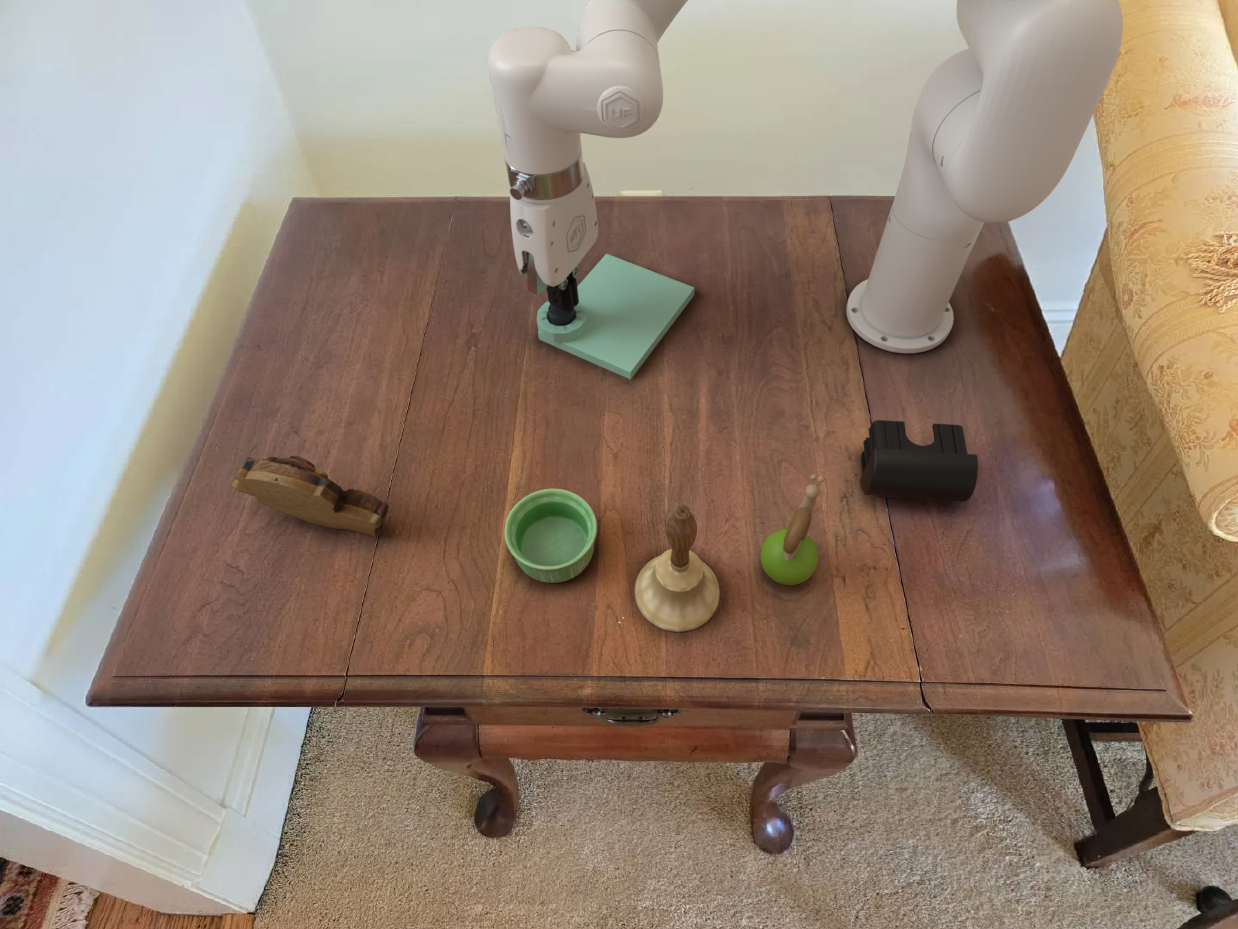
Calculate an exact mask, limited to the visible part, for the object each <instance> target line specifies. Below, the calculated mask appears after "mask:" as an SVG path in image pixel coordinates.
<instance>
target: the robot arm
mask: <svg viewBox="0 0 1238 929" xmlns="http://www.w3.org/2000/svg"><path fill="white" fill-rule="evenodd" d="M688 1H689V0H588V2H587V4H586V5H585V7H584V10H583V11H582V13H581V16H580V19H579V23H578V26H577V30H576V36H575V50H573V49H572V48H571V46H570V44H569V42H568V41H567V40H566V38H565V37H564V36H563V35H562V34H560V33H559V32H557V31H555V30H553V29H550V28H547V27H543V26H525V27H519V28H514V29H512V30H509V31H507V32H504V33H503V34H501V35H499V37H498V38H496V39H495V40H494V41H493V42H492V43H491V45H490V48H489V50H488V53H487V61H486V64H487V72H488V78H489V83H490V88H491V93H492V99H493V104H494V109H495V114H496V120H497V124H498V125H497V126H498V130H499V135H500V141H501V147H502V153H503V157H504V158H503V159H504V162H505V168H506V174H507V179H508V184H509V193H510V195H509V197H510V198H509V204H510V205H509V207H510V226H511V227H510V228H511V237H512V245H513V251H514V257H515V261H516V266H517V270H518V272H519V274H520V275H521V276H522V277H524V276H527V291H528V293H529V292H530V293H532V294H534V295H537V296H539V295H541V294H542V293H543V292H545V291H546V292H547V298H548V300H547V301H549V303H550V304H551V305H553V306H555V307H558V308H561V309H564V310H566V311H569V312H572V311H573V309H574V306H577V304H578V303H579V298H578V289H577V286H578V280H577V278H576V277H577V275H578V273H579V264H580V262H581V261H582V260H583V258H585V256H586V255H587V254H588V252H589V251H590V250H591V248H592V247H593V245H595V243H596V241H597V240H598V236H599V222H598V214H597V207H596V200H595V194H594V189H593V185H592V181H591V178H590V174H589V171H588V168H587V166H586V163H585V162H584V159H583V148H582V137H581V134H584V135H591V136H598V137H604V138H609V139H626V138H628V139H629V138H634V137H637V136H640V135H642V134H643V133H645V132H647V131H648V130H650V129H651V128H652V127H653V126H654V124H656V123H657V121H658V119H659V117H660V115H661V113H662V109H663V105H664V85H663V79H662V72H661V71H662V70H661V63H660V62H661V61H660V56H659V48H658V43H659V41H660V40H661V38H662V37H663V35H664V33H666V31H667V29H668V28H669V27H670V25H671V23H672V22H673V21H674V19H675V18H676V17H677V15H678V14H679V13H680V12H681V11H682V9H683V8H684V6H685V5H686V3H688ZM956 21H957V24H958V28H959V30H960V32H961V35H962V37H963V39H964V41H965V42H966V45H967V47H968V48H965V49H963V50H960V51H957V52H956V53H954V54H952V55H951V56H949V57H948V58H946V59H945V60H943V61H942V62H941V63H940V64H938V66H937V67H936V68H935V69H934V70H933V71H932V72H931V73H930V75H929V76H928V78H927V79H926V81H925V82H924V84H923V86H922V88H921V91H920V92H919V94H918V97H917V100H916V103H915V107H914V109H913V114H912V119H911V125H910V131H909V138H908V144H907V149H906V155H905V159H904V163H903V168H902V171H901V176H900V179H899V183H898V186H897V188H896V192H895V195H894V198H893V201H892V204H891V208H890V210H889V214H888V216H887V220H886V222H885V226H884V229H883V232H882V235H881V239H880V242H879V243H878V244H879V245H878V248H877V251H876V255H875V257H874V260H873V262H872V265H871V266H872V267H871V270H870V273H869V276H868V278H866V279H865V280H863V281H861V282H860V283H859V284H857V285H856V286H855V287H854V288H853V289H852V291H851V292H850V293H849V294H850V295H849V296H848V298H847V303H846V305H845V306H846V308H845V311H846V312H845V314H846V317H847V321H848V323H849V325H850V327H851V328H852V329H853V331H854V332H855V333H856V334H857V335H858V336H859V337H860V338H862V339H863V340H864V341H865V342H867V343H869V344H871V345H872V346H874V347H877V348H879V349H881V350H884V351H888V352H892V353H899V354H918V353H924V352H927V351H930V350H932V349H935V348H936V347H938V346H940V345H941V344H942V343H943V342H944V341H945V340H946V339H947V338H948V336H949V334H950V332H951V330H952V328H953V325H954V319H955V318H954V311H953V308H952V306H951V304H950V299H951V297H952V296H953V293H954V291H955V289H956V286H957V285H958V282H959V280H960V277H961V275H962V273H963V271H964V269H965V267H966V264H967V262H968V260H969V258H970V255H971V253H972V251H973V250H974V249H973V248H974V247H975V244H976V242H977V239H978V237H979V235H980V233H981V230H982V228H984V225H985V224H994V225H995V224H1004V223H1008V222H1011V221H1014V220H1017V219H1019V218H1022V217H1023V216H1025V215H1027V214H1029V213H1030V212H1032V211H1033V210H1034V209H1036V208H1037V207H1039V206H1040V204H1042V203H1043V202H1045V200H1046V199H1047V198H1048V197H1049V196H1050V195H1051V194H1052V192H1053V191H1054V190H1055V189H1056V188H1057V186H1058V184H1060V182H1061V181H1062V179H1063V178H1064V176H1065V174H1066V173H1067V170H1068V168H1069V166H1070V164H1071V163H1072V161H1073V158H1074V156H1075V154H1076V152H1077V150H1078V148H1079V147H1080V145H1081V144H1080V143H1081V141H1082V140H1083V137H1084V135H1085V134H1086V131H1087V128H1088V126H1089V124H1090V122H1091V120H1092V118H1093V116H1094V113H1095V111H1096V109H1097V107H1098V105H1099V102H1100V100H1101V98H1102V96H1103V93H1105V92H1104V91H1105V89H1106V87H1107V86H1108V83H1109V81H1110V79H1111V76H1112V73H1113V71H1114V69H1115V66H1116V63H1117V60H1118V57H1119V55H1120V50H1121V46H1122V40H1123V32H1124V31H1123V29H1124V28H1123V27H1124V26H1123V25H1124V23H1123V22H1124V21H1123V13H1122V8H1121V4H1120V3H1119V0H956Z"/></svg>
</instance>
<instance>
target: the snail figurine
mask: <svg viewBox="0 0 1238 929" xmlns="http://www.w3.org/2000/svg"><path fill="white" fill-rule="evenodd" d="M809 478H810V479H811V482H810V484H808V485H807V486H806V487H805V490H804V495H803V497H802V499H801V501H800V504H799V508H798V510H797V511H796V513H794V514H793V516H792V517H791V519H790V522H789V525H788V527H786V528H781V529H778V530H775V531H774V532H772V533H770V534H769V535H768V536H767V537H766V539H765V540H764V541H763V544H762V546H761V549H760V564H761V566H762V567H761V568H762V569H763V571H764V572H765V573H766V575H767V576H768V577H769V578H770V579H771V580H773V581H774V582H776V583H778V584H781V585H785V586H796V585H799V584H803V583H804V582H806V581H807V580H809V579H810V578H811V577H812V576H813V574H814V573H815V571H816V570H817V567H818V563H819V551H818V548H817V545H816V543H815V542H814V540H813V539H812V538H811V537H810V536H809V535H808V532H809V529H810V526H811V523H812V518H813V512H814V509H815V508H816V503H817V500H818V499H817V498H818V497H819V495H820V494H821V489H820V486H821V485H820V484H821V483H824V481H825V478H824V477H823V476H818V477H817V474H814V473H812V474H811V475H810V476H809ZM815 480H817V482H818V484H817V483H814V481H815Z"/></svg>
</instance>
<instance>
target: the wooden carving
mask: <svg viewBox="0 0 1238 929" xmlns="http://www.w3.org/2000/svg"><path fill="white" fill-rule="evenodd" d="M231 487H232V488H233V489H234V490H236V491H237V492H239V493H242V494H246V495H250V496H254V497H256V498H255V502H256V503H258V504H260V505H263V506H265V507H268V508H270V509H272V510H275V511H277V512H280V513H283V514H285V515H288V516H291V517H292V518H295V519H299V520H301V521H305V522H308V523H312V524H315V525H318V526H322V527H326V528H330V529H336V530H337V529H338V530H350V531H353V532H357V533H358V534H359V533H360V534H363V535H366V536H371V537H378V534H379V532H380V529H381V525H382V524H383V521H384V520H385V518H386V516H387V513H388V512H389V511H388V510H389V507H390V505H389V504H388V503H386V502H385V501H384V500H381V499H380V498H378V497H377V496H375V495H373V494H372V493H371V494H370V493H369V492H365V491H363V490H361V489H354V488H348V489H346V490H345V489H343V487H341V486H340V485H338V484H337V483H336V482H335V481H333V480H332V479H329V475H328V474H327V472H325V471H323V470H321V469H317V468H316V465H315V464H314V463H312V462H311V461H310V460H307V459H306V458H304V457H302V456H298V455H290V456H289V457H277V456H274V455H267V456H265V457H264V458H252V457H247V458H246V459H245V460H244V462H243V465H242V467H241V468H239V470H238V471H237V473H236V478H235V479H234V480H233V482H232V484H231Z"/></svg>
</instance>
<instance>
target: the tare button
mask: <svg viewBox="0 0 1238 929" xmlns="http://www.w3.org/2000/svg"><path fill="white" fill-rule="evenodd" d="M548 312H549V319H550V321H551V322H552V323H553V324H554V325H557V326H566V325H568V324H570V323H571V322H572V321H573V319H574V309H573V311H572V312H569V311H566V310H564V309H561V308H558V307H555V306H553V305H551V304H550V305H549V307H548Z"/></svg>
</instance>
